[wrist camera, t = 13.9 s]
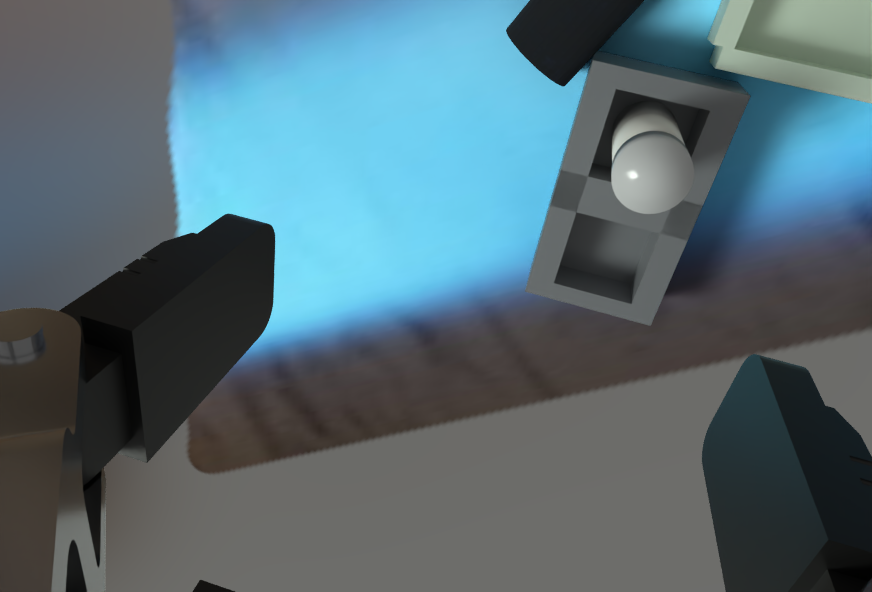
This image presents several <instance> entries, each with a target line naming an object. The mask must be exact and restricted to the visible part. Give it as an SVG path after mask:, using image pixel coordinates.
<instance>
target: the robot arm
mask: <svg viewBox="0 0 872 592" xmlns="http://www.w3.org/2000/svg"><path fill="white" fill-rule="evenodd" d="M274 260H275V233H274V229H273V227H272V226H271V225H270V224H267V223H263V222H259V221H256V220H252V219H248V218H244V217H240V216H237V215H233V214H225V215H224V216H222V217H221V218H219V219H218V220H216V221H215V222H213V223H212V224H211V225H209V226H208V227H206V228H205V229H203V230H202V231H201V232H199V233H198V234H195V233H190V234H187V235H183V236H180V237H177V238H174V239H171V240H168V241H164V242H162V243H160V244H159V245H158V246H156V247H154V248H153V249H151V250H150V251H148V252H147V253H145V254H144V255H142V256H141V259H140V260H139V259H136V260H135V261H133V262H132V263H130V264H129V265H127V266H126V267H124V270H123V272H121V271H118V272H117V273H115V274H114V275H112V276H111V277H109V278H108V279H107V280H105V281H103V282H102V283H100V284H99V285H97V286H96V287H94V288H93V289H91V290H90V291H88V292H87V293H85V294H84V295H82V296H81V297H79V298H78V299H76V300H75V301H73V302H72V303H70V304H69V305H67V306H65V307H64V308H62V309H61V310H60V311H56V310H52V309H46V308H20V309H12V310H7V311H1V312H0V592H105V523H106V522H105V521H106V478H105V471H104V466H105V465H106V464H107V463H108V462H109V461H110V460H111V459H112V458H113V457H114V456H115V455H116V454H117V453H118V454H121V455H124V456H128V457H131V458H134V459H137V460H140V461H143V462H146V463H147V462H148V461H149V460H150V459H151V458H152V457H153V456H154V454H155V453H156V452H157V451H158V450H159V449H160V448H161V447H162V446H163V444H164V443H165V442H166V441H167V440H168V439H169V438H170V436H171V435H172V434H173V433H174V432H175V431H176V430H177V429H178V427H179V426H180V425H181V424H182V423H183V422H184V421H185V420H186V419H187V418H188V416H189V415H190V414H191V413H192V412H193V411H194V410H195V409H196V407H197V406H198V405H199V404H200V403H201V402H202V401H203V400H204V398H205V397H206V396H207V395H208V394H209V393H210V392H211V391H212V390H213V388H214V387H215V386H216V385H217V384H218V383H219V382H220V381H221V379H222V378H223V377H224V376H225V375H226V374H227V373H228V372H229V370H230V369H231V368H232V367H233V366H234V365H235V364H236V363H237V361H238V360H239V359H240V358H241V357H242V356H243V355H244V354H245V353H246V351H247V350H248V349H249V348H250V347H251V346H252V345H253V344H254V342H255V341H256V340H257V339H258V338H259V337H260V336H261V334H262V333H263V331H264V330H265V328H266V326H267V324H268V321H269V319H270V315H271V312H272V307H273V292H274ZM702 464H703V470H704V476H705V481H706V487H707V492H708V497H709V503H710V508H711V514H712V519H713V524H714V530H715V535H716V541H717V546H718V551H719V557H720V562H721V568H722V573H723V578H724V584H725V590H726V592H872V456H871V455H870V453H869V451H868V449H867V447H866V445H865V443H864V441H863V439H862V437H861V435H859V433H858V432H857V431H856V430H855V429H854V428H853V427H852V426H851V425H850V424H849V423H848V422H847V421H846V420H845V419H844V418H843V417H842V416H841V415H840V414H839V413H838V412H837V411H836V410H835V409H834V408H831V407H828V406H825V404H824V402H823V400H822V398H821V396H820V394H819V392H818V390H817V387H816V385H815V383H814V381H813V379H812V377H811V375H810V373H809V371H808V370H807V369H806V368H804V367H802V366H798V365H794V364H790V363H786V362H783V361H779V360H775V359H771V358H767V357H764V356H760V355H756V354H753V355H751V356H749V357H748V358H747V359H746V360H745V361H744V363H743V365H742V366H741V368H740V370H739V371H738V373H737V375H736V377H735V379H734V381H733V383H732V384H731V386H730V388H729V390H728V392H727V394H726V396H725V398H724V399H723V401H722V403H721V405H720V407H719V409H718V410H717V413H716V414H715V416H714V418H713V420H712V422H711V424H710V426H709V428H708V430H707V433H706V436H705V440H704V444H703V451H702ZM193 592H235V591H231V590H229V589H226V588H223V587H220V586H217V585H214V584H211V583H208V582H206V581H203V580H200V581H199V583H198V584H197V586H196V587H195V589H194V590H193Z"/></svg>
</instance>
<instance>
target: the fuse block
mask: <svg viewBox="0 0 872 592" xmlns="http://www.w3.org/2000/svg"><path fill="white" fill-rule="evenodd" d="M749 99H750V95H749V94H748V93H747V92H746V90H745V89H744V88H743V87H742V86H741V85H740V84H739V83H738V82H734V81H730V80H725V79H721V78H716V77H712V76H707V75H703V74H698V73H694V72H690V71H685V70H681V69H676V68H672V67H667V66H663V65H658V64H654V63H650V62H645V61H641V60H636V59H632V58H627V57H623V56H618V55H614V54H610V53H605V52H601V51H597V52H596V53H595V54H594V55H593V57H592V60H591V64H590V67H589V70H588V74H587V77H586V81H585V84H584V87H583V91H582V94H581V98H580V101H579V105H578V108H577V111H576V115H575V118H574V122H573V125H572V128H571V132H570V135H569V139H568V142H567V146H566V149H565V152H564V156H563V159H562V163H561V166H560V170H559V173H558V176H557V180H556V183H555V187H554V190H553V193H552V197H551V200H550V204H549V207H548V211H547V214H546V217H545V221H544V224H543V228H542V231H541V234H540V238H539V241H538V245H537V248H536V252H535V255H534V258H533V262H532V265H531V269H530V273H529V277H528V282H527V286H526V290H525V292H529V293H533V294H536V295H540V296H544V297H547V298H551V299H555V300H558V301H562V302H566V303H569V304H573V305H576V306H580V307H584V308H587V309H591V310H595V311H598V312H602V313H606V314H609V315H613V316H617V317H620V318H624V319H628V320H631V321H635V322H638V323H642V324H646V325H649V326H651V323H652V321H653V319H654V316H655V314H656V312H657V310H658V307H659V305H660V303H661V300H662V298H663V296H664V294H665V291H666V289H667V287H668V284H669V282H670V280H671V278H672V275H673V273H674V271H675V268H676V266H677V264H678V261H679V259H680V257H681V255H682V252H683V250H684V248H685V245H686V243H687V241H688V239H689V236H690V234H691V232H692V229H693V227H694V225H695V223H696V220H697V218H698V216H699V213H700V211H701V209H702V206H703V204H704V202H705V200H706V197H707V195H708V193H709V190H710V188H711V186H712V184H713V181H714V179H715V177H716V174H717V172H718V170H719V167H720V165H721V163H722V161H723V158H724V156H725V154H726V151H727V149H728V147H729V145H730V142H731V140H732V138H733V135H734V133H735V131H736V129H737V126H738V124H739V122H740V119H741V117H742V115H743V112H744V110H745V108H746V106H747V103H748V101H749ZM640 101H655V102H658V103H661V104H663V105H664V106H666V107H667V108H668V109H669V110H670V111H671V112H672V114H673V115H674V117H675V120H676V122H677V125H678V128H679V130H680V133H681V136H682V138H683V141H684V144H685V146H686V148H687V150H688V152H689V154H690V157H691V160H692V162H693V166H694V180H693V184H692V187H691V189H690V191H689V192H688V194H687V195H686V197H685V198H684V199H683V200H682V201H681V202H680V203H679V204H677V205H676V206H675V207H673V208H671V209H669V210H667V211H664V212H661V213H656V214H643V213H638V212H635V211H632V210H630V209H628V208H627V207H625V206H624V205H623V204H622V203H621V202H620V201H619V200H618V199H617V197H616V195H615V193H614V191H613V188H612V183H611V167H612V128H613V125H614V122H615V120H616V118H617V117H618V115H619V114H620V113H621V112H622V111H623V110H624V109H625V108H626V107H628V106H630V105H632V104H634V103H636V102H640Z"/></svg>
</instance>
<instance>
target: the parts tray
mask: <svg viewBox="0 0 872 592" xmlns="http://www.w3.org/2000/svg"><path fill="white" fill-rule="evenodd" d="M707 39H708V40H709V41H710V42H711V43H712V44H713V45H715V48H714V50H713V53H712V55H711V58H710V60H709V62H710V63H711V64H712V65H713V67H714V68H715V69H720V70H724V71H729V72H733V73H738V74H742V75H747V76H751V77H755V78H760V79H764V80H769V81H773V82H778V83H782V84H787V85H791V86H796V87H800V88H805V89H809V90H814V91H818V92H823V93H827V94H832V95H836V96H840V97H845V98H849V99H854V100H858V101H863V102H867V103H872V0H722V1H721V4H720V6H719V9H718V11H717V14H716V17H715V19H714V22H713V25H712V27H711V30H710V32H709V35H708V38H707Z"/></svg>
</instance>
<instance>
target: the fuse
mask: <svg viewBox="0 0 872 592" xmlns="http://www.w3.org/2000/svg"><path fill="white" fill-rule="evenodd" d="M693 180H694V166H693V162H692V160H691V157H690V154H689V152H688V150H687V148H686V146H685V144H684V141H683V138H682V136H681V133H680V130H679V128H678V125H677V122H676V120H675V117H674V115H673V114H672V112H671V111H670V110H669V109H668V108H667V107H666V106H664V105H663V104H661V103H658V102H655V101H640V102H636V103H634V104H632V105H630V106H628V107H626V108H625V109H624V110H623V111H622V112H621V113H620V114H619V115H618V117H617V118H616V120H615V122H614V125H613V128H612V167H611V183H612V188H613V191H614V193H615V195H616V197H617V199H618V200H619V201H620V202H621V203H622V204H623V205H624V206H625V207H627V208H628V209H630V210H632V211H635V212H638V213H643V214H656V213H661V212H664V211H667V210H669V209H671V208H673V207H675V206H676V205H677V204H679V203H680V202H681V201H682V200H683V199H684V198H685V197H686V195H687V194H688V192H689V191H690V189H691V187H692V184H693Z"/></svg>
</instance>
